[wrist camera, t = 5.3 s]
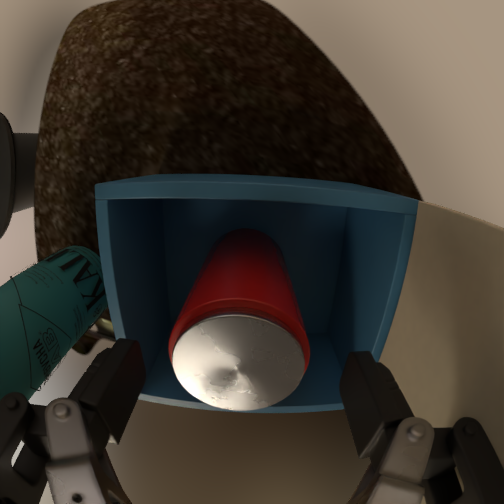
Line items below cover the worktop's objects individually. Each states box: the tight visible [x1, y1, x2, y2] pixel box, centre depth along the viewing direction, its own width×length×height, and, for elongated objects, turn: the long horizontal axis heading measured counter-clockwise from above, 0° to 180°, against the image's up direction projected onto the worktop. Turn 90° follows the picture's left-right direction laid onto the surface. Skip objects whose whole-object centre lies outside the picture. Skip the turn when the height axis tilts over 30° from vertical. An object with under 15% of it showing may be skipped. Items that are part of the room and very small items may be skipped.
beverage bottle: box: [0, 245, 108, 400], centre depth 11 cm, size 6×7×20 cm
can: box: [168, 228, 310, 411], centre depth 15 cm, size 6×6×11 cm
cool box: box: [95, 174, 419, 413], centre depth 16 cm, size 14×13×9 cm
